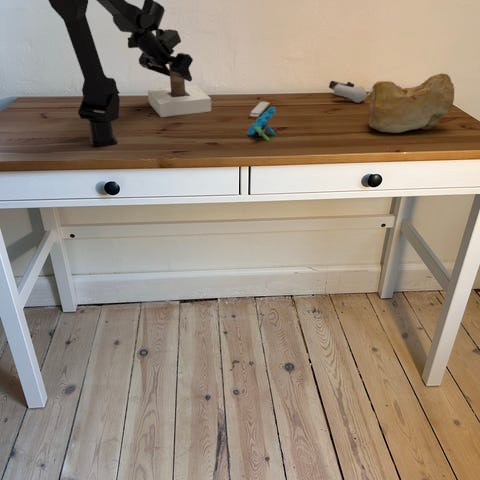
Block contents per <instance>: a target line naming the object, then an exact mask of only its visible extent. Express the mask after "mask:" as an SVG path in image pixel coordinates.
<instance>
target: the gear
mask: <svg viewBox="0 0 480 480" xmlns="http://www.w3.org/2000/svg"><path fill="white" fill-rule="evenodd" d="M275 113H276V108H275V107H274V106H272V107H269V108H268V109H267V110H266V111H265V112H264V113H263V114H262V115H261V116H260V117H259V118H257V119H255V122H253V123H252V124H251V125H250V127H249V128H248V130H247V135H248V136H253V135H254V134H255V133H256V132H257V133H258V135H259V136H260V137H261V136H262V137H263V138H264V139H265V140H266V141H267V142H268V141H270V138H269V137H268V136H267V135H266V134H265V133H266V132H265V131H267V132H268V133H269V134H270V135H272V136H274V135H275V134H276V133H275V131H274V130H273V129H272V128H271V127H270V126H269V123H268V122H267V121H268V120H270V119H271V118H273V114H275Z"/></svg>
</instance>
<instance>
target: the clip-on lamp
mask: <svg viewBox="0 0 480 480" xmlns="http://www.w3.org/2000/svg"><path fill="white" fill-rule="evenodd" d="M328 88H329V89H330V90H331V93H332V94H335V95H336V96H341V97H344V98H347V99H351V101H352V102H353V103H358V104H360V103H361V102H362V101H364V100H365V99H366V98H367V97H369V96H370V94H372V91H373V86H372V87H371V88H370V91H369V93H367V92H366V90H365V87H363V86H359V85H357V86H355V84H354V83H352V82H351V81H347V82H346V83H344V82H339V81H335V80H331V81H330V82H329V85H328Z"/></svg>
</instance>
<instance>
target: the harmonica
mask: <svg viewBox="0 0 480 480" xmlns="http://www.w3.org/2000/svg"><path fill="white" fill-rule="evenodd" d="M269 108H271V103H270V102H268V101H260V102H259V103H257V105H256V106H255V107H254V108H253V109H252V110H251V111H250V114H249V115H248V117H247V119H248V120H256V119H257V118H259V117H261V116H262V114H263V113H264V112H265V111H267V110H268V109H269Z"/></svg>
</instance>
